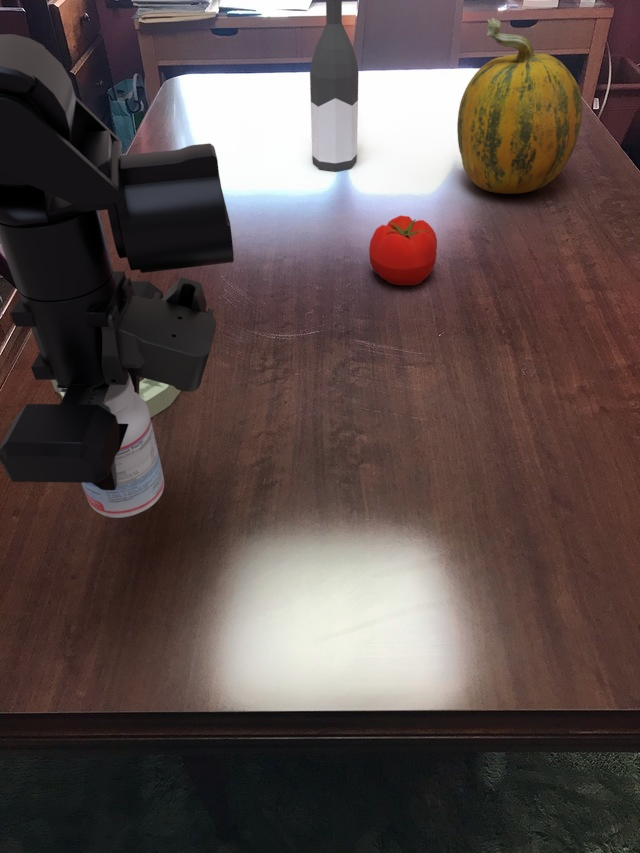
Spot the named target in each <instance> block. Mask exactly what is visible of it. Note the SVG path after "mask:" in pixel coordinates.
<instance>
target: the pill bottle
mask: <svg viewBox="0 0 640 853" xmlns="http://www.w3.org/2000/svg"><path fill="white" fill-rule="evenodd" d="M128 374H129V373H128ZM63 393H64V395H65V393H66V392H63ZM105 405H107V406H108V407H109V408H110V410H111V413H112V414H114V415H115V416H116V418H117V422H118V424H129V425H128V428H127V431H126V434H125V437H124V439H123V442H122V445H121V448H120V450H119V452H118V453H117V454H116V456H115V466H116V477H117V487H116V489H115V490H101V489H100V488H98V487H97V486H95V485H94V484H92V483H81V486H82V489H83V492H84V495H85V498H86V500H87V502H88V505H89V506H90V507H91V508H92V509H93V511H95V512H96V513H98V514H100V515H102V516H105V517H107V518H114V519H119V518H122V519H123V518H128V517H131V516H135V515H138V514H139V513H142V512H144V511H146V510H148V509H149V508H151V507H152V506H153V505H155V504H156V503H157V502H158V501H159V499H160V498H161V496H162V494H163V491H164V488H165V477H164V473H163V472H164V471H163V467H162V463H161V459H160V458H161V457H160V454H159V449H158V445H157V440H156V437H155V436H156V435H155V431H154V426H153V422H152V418H151V417H150V413H149V409H148V406H147V404H146V402H145V401H144V400H143V398H142V397H141V396H140V395H138V394H137V393H135V392H134V386H133V384H132V380H131V377H130V375H129V378H128V381H127V383H126V385H112V388H111V390H110V393H109V395H108V398H107V400H106V403H105Z"/></svg>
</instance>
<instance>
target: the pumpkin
mask: <svg viewBox="0 0 640 853" xmlns="http://www.w3.org/2000/svg"><path fill="white" fill-rule="evenodd" d="M487 23H488V24H487V27H486V29H487V32H486V36H487V37H490V38H491V39H493V40H494V41H496V43H497V44H499V45H501V46H503V47H505V48H507V47H508V48H509V47H510V48H512V49H513V48H514V49H516V50H518V53H516V54H507V55H504V56H499V57H495V58H493V59H491V60H489V61H488V62H486V63H485V64H484V65H482V66H481V67H480V68H479V69H478V70H477V72H475V74H474V75H473V77H472V78H471V79H470V81H469V82H468V83H467V85H466V87H465V90H464V91H463V94H462V97H461V100H460V103H459V107H458V113H457V123H456V125H457V143H458V150H459V153H460V158H461V164H462V167H463V169H464V172H465V174H466V175H467V177H468V178H469V179H470V180H471V181H472V183H474V185H475V186H477V187H478V188H480V189H482V190H484V191H486V192H490V193H495V194H508V195H509V194H510V195H512V194H525V193H529V192H530V193H531V192H533V191H536V190H538V189H541V188H543V187H545V186H546V185H548V184H549V183H550V182H552V181H553V180H555V178H556V177H557V176H558V175H559V174H560V173H561V172H562V171H563V170H564V168H565V166H566V165H567V163H568V162H569V160H570V159H571V156H572V154H573V153H574V150H575V147H576V144H577V141H578V138H579V135H580V130H581V127H582V119H583V97H582V92H581V90H580V86H579V84H578V83H577V81H576V79H575V77H574V76H573V75H572V73H571V72H570V70H569V69H568V68H567V67H566V65H564V64H563V62H562V61H561V60H559V59H558V58H556V57H554V56H552V55H550V54H547V53H541V52H534V51H535V50H534V47H533V45H532V43H531V41H530V40H529V39H528V38H527V37H525V36H524V35H521V34H514V33H513V34H511V33H504V32H500V29H501V24H502V22H501V21H500V20H499V19H497V18H494V17H491V19H487Z"/></svg>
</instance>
